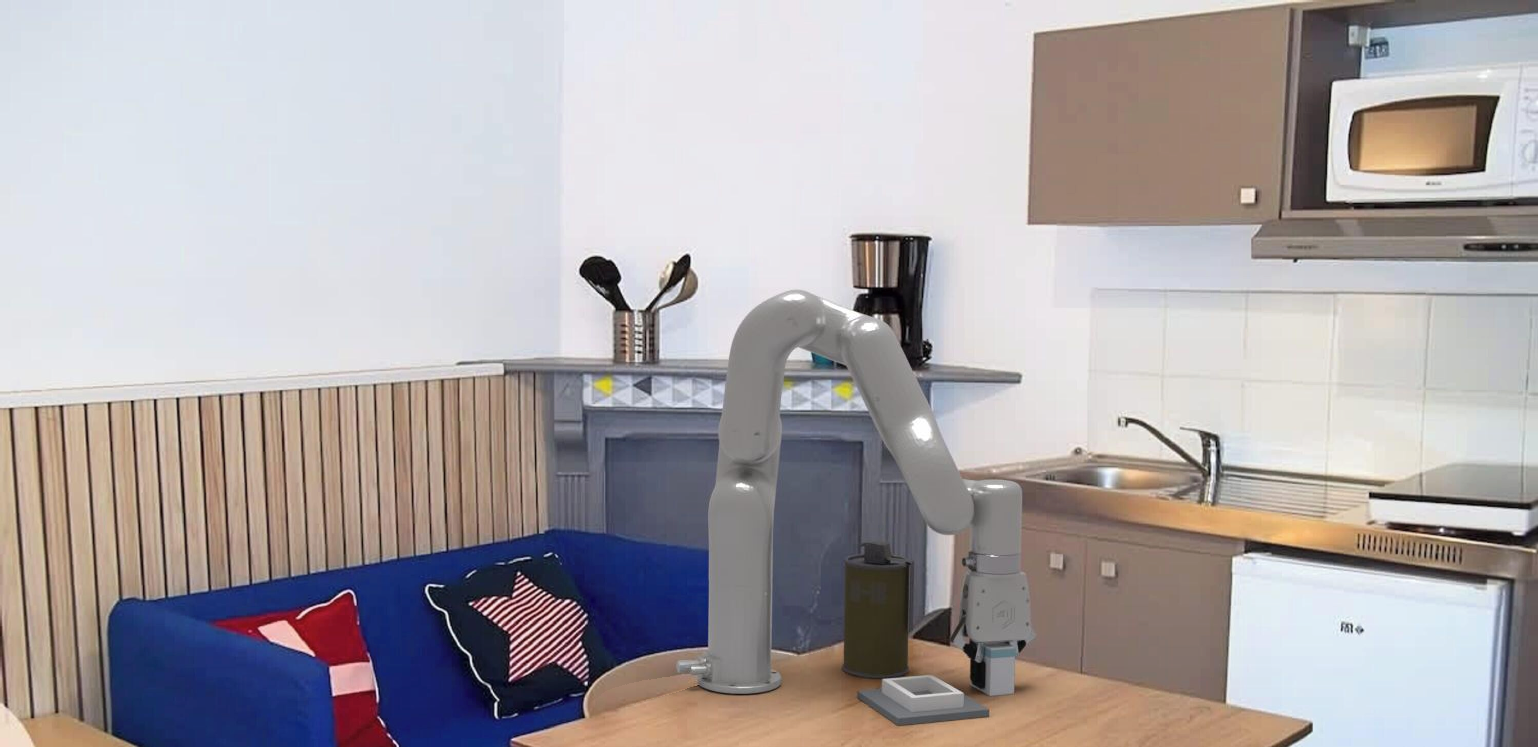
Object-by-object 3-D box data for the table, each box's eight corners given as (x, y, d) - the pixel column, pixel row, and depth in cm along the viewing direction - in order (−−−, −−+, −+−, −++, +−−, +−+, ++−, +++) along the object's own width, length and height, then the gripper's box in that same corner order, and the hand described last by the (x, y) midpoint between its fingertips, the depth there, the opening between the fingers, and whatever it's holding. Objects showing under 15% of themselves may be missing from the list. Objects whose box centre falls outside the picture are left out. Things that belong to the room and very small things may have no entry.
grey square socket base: (898, 725, 193) (898, 703, 193) (857, 697, 207) (857, 676, 206) (989, 716, 198) (989, 695, 198) (943, 689, 211) (943, 669, 211)
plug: (989, 695, 208) (991, 648, 208) (970, 684, 214) (971, 638, 214) (1014, 693, 210) (1015, 646, 209) (994, 682, 215) (995, 637, 215)
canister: (832, 673, 219) (834, 545, 218) (854, 657, 229) (857, 534, 228) (900, 682, 215) (902, 551, 214) (919, 665, 225) (922, 540, 223)
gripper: (956, 571, 204) (953, 696, 205) (1057, 565, 210) (1054, 686, 211) (932, 561, 211) (930, 682, 212) (1031, 555, 217) (1028, 673, 218)
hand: (992, 683), depth 212 cm, fingers closed on plug, 4 cm apart
